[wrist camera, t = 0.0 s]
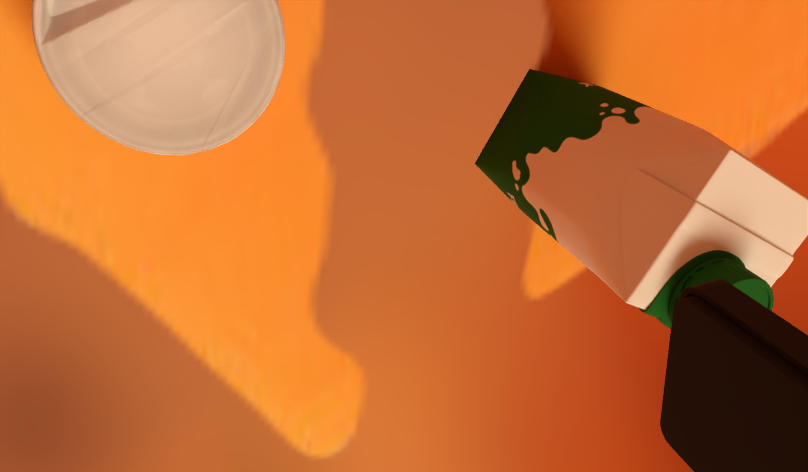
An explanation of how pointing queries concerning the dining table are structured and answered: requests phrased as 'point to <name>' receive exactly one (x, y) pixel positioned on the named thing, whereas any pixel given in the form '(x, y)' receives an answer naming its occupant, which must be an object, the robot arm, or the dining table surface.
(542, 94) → the milk carton
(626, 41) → the dining table surface
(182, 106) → the ramekin
